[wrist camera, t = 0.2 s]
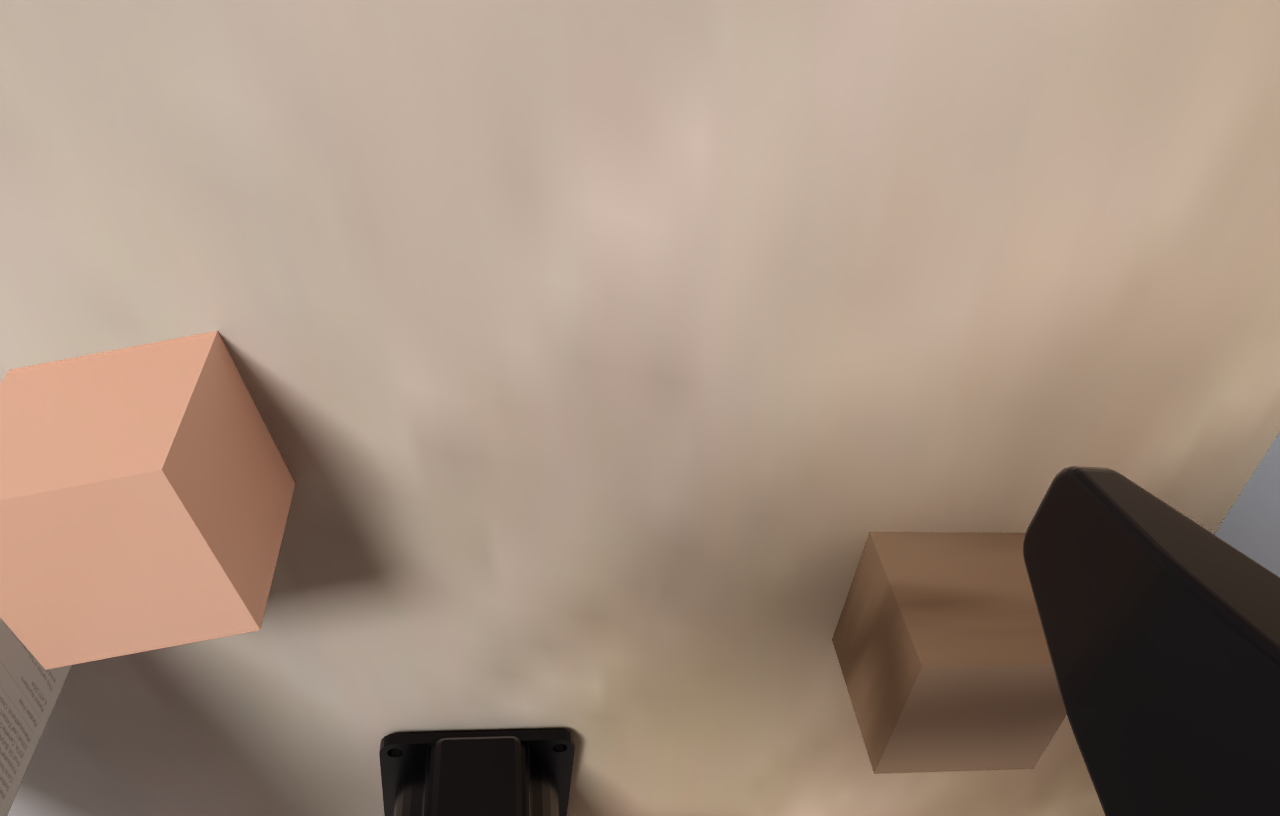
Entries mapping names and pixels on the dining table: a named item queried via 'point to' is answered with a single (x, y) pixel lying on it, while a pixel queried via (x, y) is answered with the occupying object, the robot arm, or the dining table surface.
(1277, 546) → the slate slab
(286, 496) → the terracotta cube
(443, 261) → the dining table surface
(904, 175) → the dining table surface
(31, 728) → the skincare box
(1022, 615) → the walnut cube
